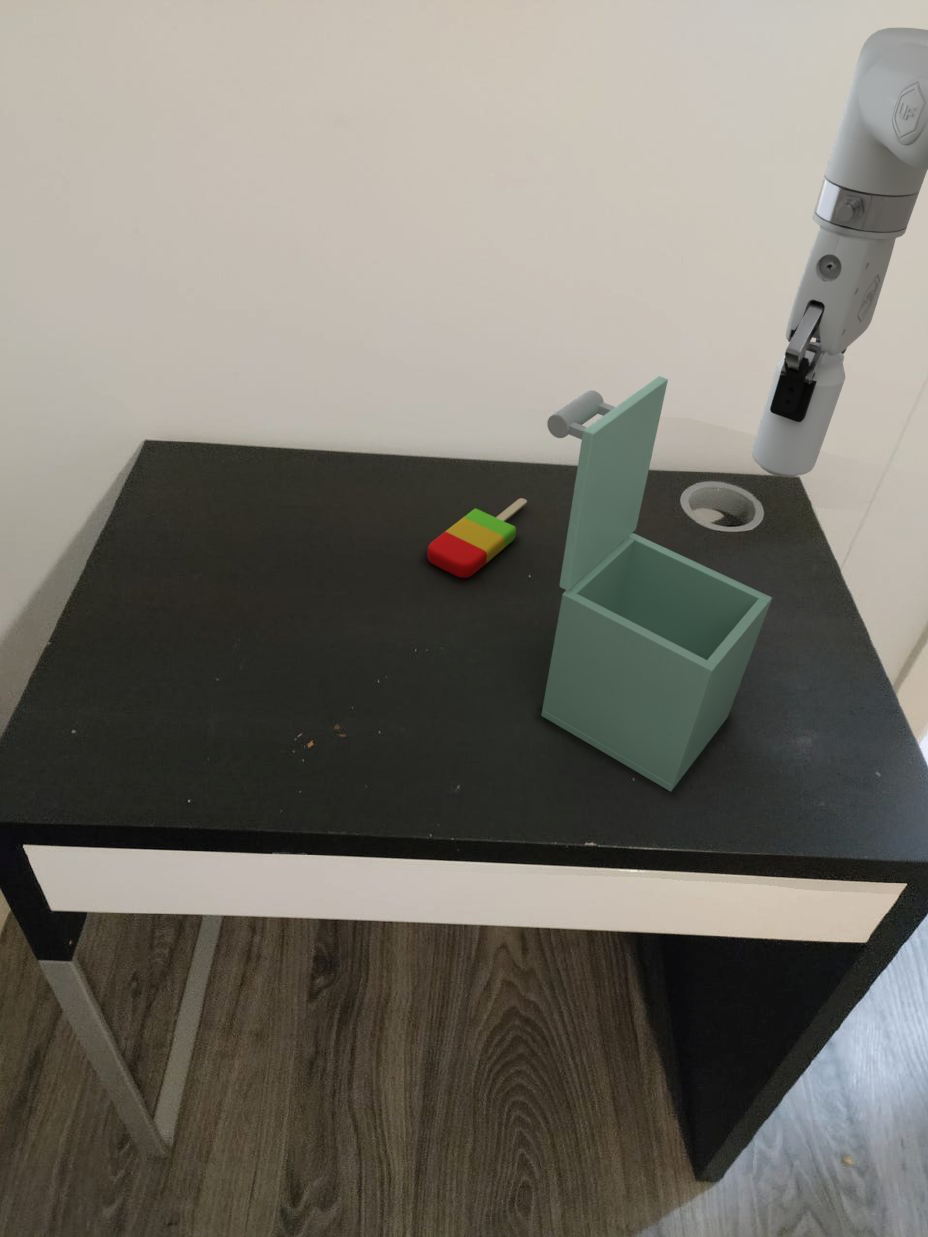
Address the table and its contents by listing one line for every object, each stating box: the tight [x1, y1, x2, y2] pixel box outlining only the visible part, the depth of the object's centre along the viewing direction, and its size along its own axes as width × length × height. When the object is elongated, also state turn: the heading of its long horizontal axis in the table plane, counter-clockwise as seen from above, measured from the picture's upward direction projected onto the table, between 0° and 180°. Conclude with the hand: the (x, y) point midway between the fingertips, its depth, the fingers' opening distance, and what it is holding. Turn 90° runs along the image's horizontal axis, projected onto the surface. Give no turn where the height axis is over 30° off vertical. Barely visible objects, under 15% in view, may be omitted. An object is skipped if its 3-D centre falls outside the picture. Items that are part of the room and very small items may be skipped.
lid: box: [547, 375, 669, 591], centre depth 70 cm, size 14×11×5 cm
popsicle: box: [426, 497, 528, 579], centre depth 98 cm, size 6×15×2 cm, turn 145°
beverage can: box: [751, 341, 846, 478], centre depth 89 cm, size 6×6×12 cm
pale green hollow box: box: [540, 532, 773, 792], centre depth 76 cm, size 13×11×14 cm
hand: (801, 401), depth 88 cm, fingers closed on beverage can, 6 cm apart
